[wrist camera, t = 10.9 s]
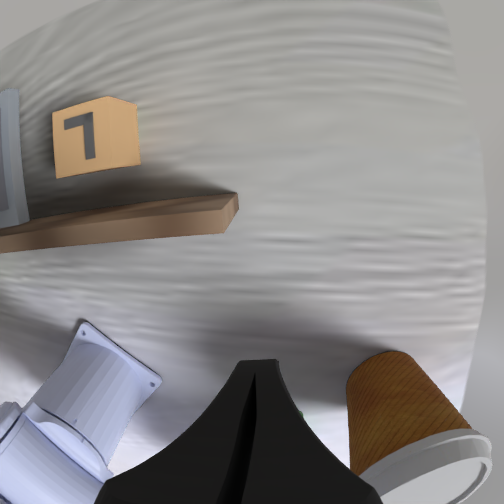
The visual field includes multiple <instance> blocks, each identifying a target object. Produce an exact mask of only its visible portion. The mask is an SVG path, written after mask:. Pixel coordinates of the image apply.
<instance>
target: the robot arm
mask: <svg viewBox="0 0 504 504" xmlns="http://www.w3.org/2000/svg"><path fill="white" fill-rule="evenodd" d="M83 331H84V332H85V333H84V332H83ZM151 382H153V383H154V384H153V383H151ZM161 382H162V379H161V377H160V376H159V375H157V374H156V373H154V372H153V371H151V370H150V369H148V368H147V367H146V366H144V365H143V364H141V363H140V362H138V361H137V360H136V359H134V358H133V357H132V356H130V355H129V354H128V353H126V352H125V351H123V350H122V349H121V348H119V347H118V346H117V345H116V344H114V343H113V342H112V341H110V340H109V339H108V338H107V337H105V336H104V335H103V334H101V333H100V332H99V331H98V330H96V329H95V328H94V327H93V326H92V325H90V324H89V323H88V322H83V323H82V324H81V325H80V327H79V329H78V331H77V333H76V335H75V337H74V339H73V341H72V343H71V345H70V347H69V350H68V352H67V354H66V356H65V358H64V360H63V362H62V363H61V364H60V366H59V367H58V368H57V369H56V370H55V371H54V372H53V373H52V375H51V376H50V377H49V378H48V379H47V380H46V382H45V383H44V384H43V385H42V386H41V387H40V389H39V390H38V391H37V392H36V393H35V394H34V396H33V397H32V398H31V399H30V400H29V402H28V403H27V404H26V405H25V406H24V407H23V408H21V407H20V406H19V404H18V403H17V402H13V403H12V402H4V403H3V404H2V405H0V504H383V502H382V500H381V498H380V496H379V495H378V493H377V491H376V490H375V488H374V487H373V486H371V485H370V484H368V483H367V482H365V481H364V480H363V479H361V478H360V477H359V476H357V475H356V474H355V473H354V472H352V471H351V470H350V469H349V468H348V467H346V466H345V465H344V464H343V463H342V462H341V461H340V460H339V459H338V458H337V457H336V456H335V455H334V454H333V453H332V452H331V451H330V450H329V449H328V448H327V447H326V446H325V445H324V444H323V443H322V442H321V441H320V439H319V438H318V437H317V436H316V435H315V433H314V432H313V431H312V430H311V428H310V427H309V426H308V424H307V423H306V421H305V420H304V418H303V417H302V415H301V414H300V412H299V410H298V409H297V407H296V406H295V404H294V402H293V400H292V398H291V396H290V394H289V392H288V390H287V388H286V386H285V383H284V381H283V378H282V375H281V372H280V368H279V361H277V360H276V359H267V360H243V361H239V362H238V363H237V365H236V367H235V369H234V371H233V372H232V374H231V376H230V377H229V379H228V380H227V382H226V383H225V385H224V386H223V388H222V389H221V391H220V392H219V393H218V395H217V396H216V398H215V399H214V400H213V401H212V403H211V404H210V405H209V406H208V407H207V409H206V410H205V411H204V412H203V413H202V415H201V416H200V417H199V418H198V419H197V420H196V421H195V422H194V423H193V424H192V425H191V426H190V427H189V428H188V429H187V430H186V431H185V432H184V433H183V434H181V435H180V436H179V437H178V438H177V439H175V440H174V441H173V442H172V443H171V444H169V445H168V446H167V447H165V448H164V449H163V450H161V451H160V452H159V453H157V454H155V455H154V456H152V457H151V458H149V459H148V460H146V461H144V462H143V463H141V464H139V465H138V466H136V467H134V468H132V469H130V470H128V471H126V472H123V473H121V474H119V475H117V476H115V477H113V475H114V474H113V472H111V471H110V470H109V469H108V468H107V466H108V464H109V462H110V460H111V458H112V456H113V453H114V451H115V449H116V447H117V445H118V443H119V441H120V439H121V437H122V435H123V433H124V431H125V429H126V427H127V425H128V423H129V421H130V419H131V417H132V415H133V414H134V413H135V412H136V411H137V410H138V408H139V407H140V406H141V405H142V404H143V403H144V402H145V401H146V400H147V399H148V397H149V396H150V395H151V394H152V393H153V392H154V391H155V390H156V389H157V387H158V386H159V385H160V384H161ZM112 477H113V478H112Z"/></svg>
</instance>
